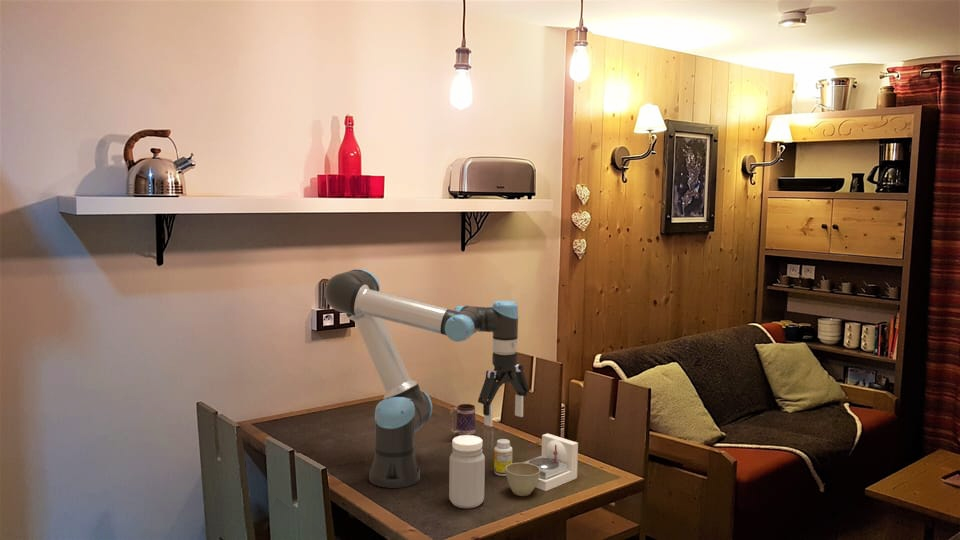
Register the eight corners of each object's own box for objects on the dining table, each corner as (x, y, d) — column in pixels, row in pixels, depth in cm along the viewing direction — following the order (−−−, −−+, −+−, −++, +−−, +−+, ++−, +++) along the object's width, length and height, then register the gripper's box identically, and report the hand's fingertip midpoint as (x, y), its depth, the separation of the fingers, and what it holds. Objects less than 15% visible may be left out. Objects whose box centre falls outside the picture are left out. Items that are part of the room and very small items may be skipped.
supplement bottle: (497, 468, 238) (498, 436, 237) (514, 471, 236) (515, 439, 235) (491, 475, 233) (491, 442, 232) (508, 477, 231) (509, 445, 230)
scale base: (545, 491, 221) (546, 454, 220) (515, 479, 229) (515, 444, 228) (577, 478, 231) (578, 442, 230) (546, 467, 240) (547, 433, 238)
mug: (468, 434, 270) (469, 401, 269) (480, 439, 265) (480, 406, 263) (444, 439, 265) (444, 405, 263) (454, 445, 259) (455, 410, 258)
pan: (545, 478, 222) (545, 472, 222) (520, 469, 229) (520, 462, 229) (567, 470, 229) (567, 463, 229) (541, 461, 236) (542, 454, 236)
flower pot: (514, 502, 213) (514, 477, 212) (499, 488, 222) (499, 465, 222) (545, 496, 217) (546, 472, 216) (529, 483, 226) (530, 460, 226)
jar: (485, 509, 208) (486, 445, 206) (449, 510, 207) (450, 445, 205) (482, 494, 218) (483, 433, 216) (448, 495, 217) (449, 434, 215)
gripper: (484, 360, 219) (483, 432, 221) (541, 348, 236) (540, 414, 239) (466, 356, 224) (465, 426, 226) (523, 344, 242) (522, 409, 244)
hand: (503, 420), depth 233 cm, fingers open, 13 cm apart
